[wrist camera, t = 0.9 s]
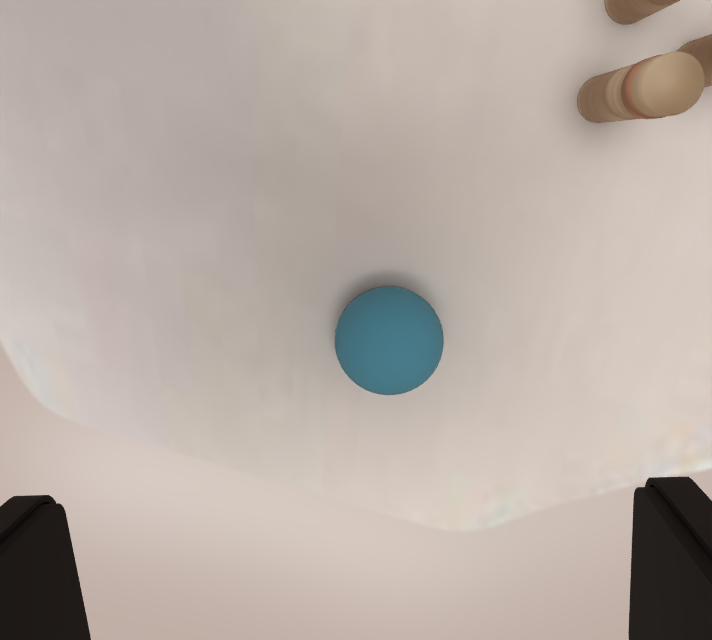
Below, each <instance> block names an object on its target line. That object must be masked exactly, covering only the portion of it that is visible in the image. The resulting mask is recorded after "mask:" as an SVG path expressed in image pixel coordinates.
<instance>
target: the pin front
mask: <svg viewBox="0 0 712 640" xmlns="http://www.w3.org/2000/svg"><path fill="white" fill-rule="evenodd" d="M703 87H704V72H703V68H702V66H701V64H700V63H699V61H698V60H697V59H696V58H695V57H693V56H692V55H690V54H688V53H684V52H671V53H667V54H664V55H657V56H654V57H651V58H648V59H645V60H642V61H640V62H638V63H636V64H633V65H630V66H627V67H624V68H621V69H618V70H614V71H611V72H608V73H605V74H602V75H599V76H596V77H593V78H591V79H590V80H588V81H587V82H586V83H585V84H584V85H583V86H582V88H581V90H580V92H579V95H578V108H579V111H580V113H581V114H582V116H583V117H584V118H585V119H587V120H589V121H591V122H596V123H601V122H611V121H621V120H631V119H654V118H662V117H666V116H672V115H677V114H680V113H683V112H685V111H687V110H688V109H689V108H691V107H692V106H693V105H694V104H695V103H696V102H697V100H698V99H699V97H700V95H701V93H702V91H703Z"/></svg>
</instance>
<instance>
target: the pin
mask: <svg viewBox="0 0 712 640" xmlns="http://www.w3.org/2000/svg"><path fill="white" fill-rule="evenodd" d="M678 1H680V0H605V7H606V11H607V13H608V15H609V16H610V17H611V18H612V19H613V20H614V21H616V22H618V23H620V24H632V23H635V22H637V21H639V20H641V19H643V18H645V17H647V16H649V15H651V14H653V13H655V12H657V11H659V10H661V9H663V8H666V7H668V6H670V5H672V4H674V3H676V2H678Z"/></svg>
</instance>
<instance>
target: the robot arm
mask: <svg viewBox="0 0 712 640" xmlns="http://www.w3.org/2000/svg"><path fill="white" fill-rule="evenodd" d="M0 640H91V639H90V633H89V628H88V622H87V617H86V612H85V607H84V602H83V597H82V592H81V588H80V582H79V577H78V573H77V567H76V563H75V557H74V553H73V547H72V542H71V538H70V533H69V528H68V523H67V518H66V513H65V510H64V508H63V506H62V505H61V504H56V502H55V500H54V499H53V498H52V497H51V496H49V495H38V496H14V497H12V498H10V499H9V500H8V501H7V502H5V503H4V504H3V505H2V506H1V507H0ZM629 640H712V501H711V500H710V499H709V497H708V496H707V495H706V494H705V493H704V492H703V491H702V490H701V489H700V488H699V487H698V485H697V484H696V483H695V482H694V481H693V480H692V479H691V478H689V477H659V478H649V479H648V480H647V482H646V485H645V487H638V488H637V489H636V490H635V493H634V505H633V533H632V558H631V586H630V613H629Z"/></svg>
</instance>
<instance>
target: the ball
mask: <svg viewBox="0 0 712 640" xmlns="http://www.w3.org/2000/svg"><path fill="white" fill-rule="evenodd" d="M335 348H336V354H337V357H338V360H339V362H340V364H341V367H342V368H343V370H344V371H345V373H346V374H347V375H348V377H349V378H350V379H351V380H352V381H354V382H355V383H356V384H357V385H359V386H360V387H362V388H364V389H366V390H368V391H370V392H373V393H377V394H382V395H396V394H402V393H406V392H408V391H411V390H413V389H415V388H417V387H418V386H420V385H421V384H423V383H424V382H425V381H426V380H427V379H428V378H429V377H430V376H431V375H432V374H433V372H434V371H435V369H436V368H437V365H438V363H439V361H440V358H441V355H442V351H443V330H442V326H441V323H440V321H439V318H438V316H437V314H436V313H435V311H434V309H433V308H432V307H431V306H430V304H429V303H428V302H427V301H426V300H424V299H423V298H422V297H421V296H419V295H417V294H416V293H414V292H412V291H409V290H407V289H403V288H400V287H379V288H375V289H372V290H369V291H367V292H364V293H363V294H361V295H359V296H358V297H356V298H355V299H354V300H353V301H352V302H351V303H350V304H349V305H348V306H347V307H346V309H345V310H344V312H343V313H342V315H341V317H340V319H339V321H338V324H337V328H336V334H335Z"/></svg>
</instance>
